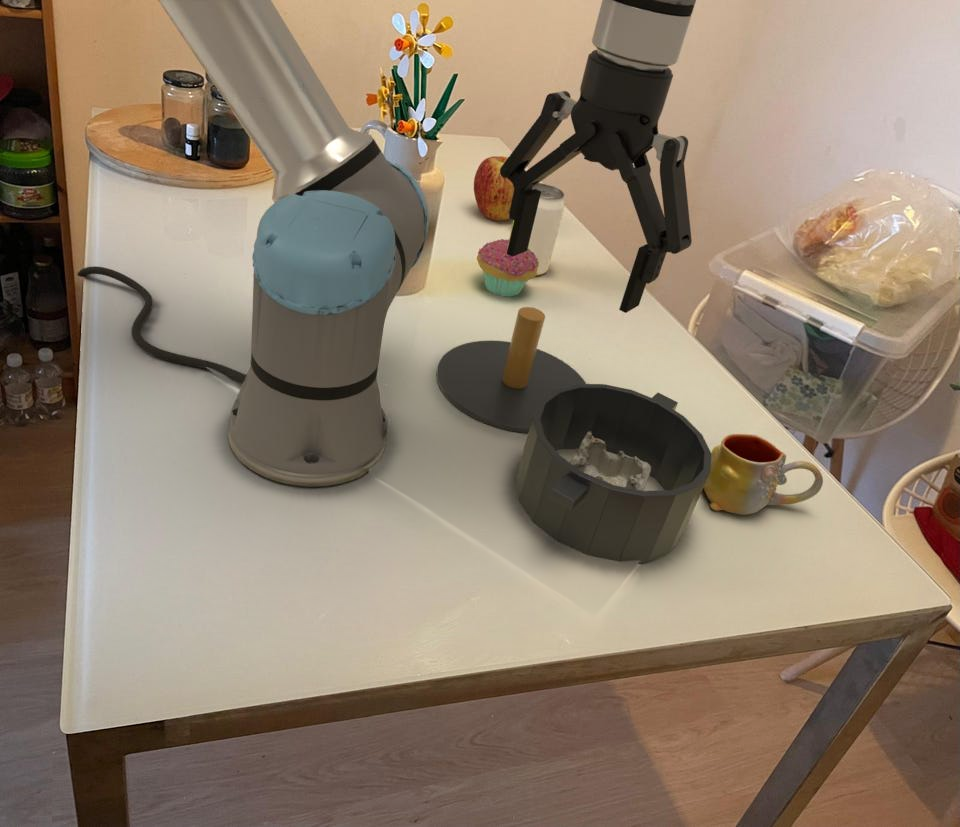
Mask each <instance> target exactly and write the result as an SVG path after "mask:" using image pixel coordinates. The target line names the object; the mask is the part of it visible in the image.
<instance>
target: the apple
mask: <svg viewBox="0 0 960 827" xmlns="http://www.w3.org/2000/svg"><path fill="white" fill-rule="evenodd" d="M508 157H509V156H504V155H502V156H499V155H498V156H496V155H495V156H490V157H487V158H485V159H483V160H482V162H480V164H479V165H478V167H477V170H476V172H475V174H474V179H473V194H474V198H475V202H476V205H477V208H478V210H479V212H480V213H481V214H482V215H483V216H484V217H485V218H488V219H491V220H493V221H498V222H500V221H505V220H509V219H510V218H509V211H510V206H511V202H512V197H513V193H514V187H513V184H512V182H511V181H510V180H509V179H508V178H503V177H502V176H501V174H500V168H501V167H502V165H503V164H504V163H505V161H506V160H507V159H508Z"/></svg>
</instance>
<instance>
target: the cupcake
mask: <svg viewBox="0 0 960 827" xmlns="http://www.w3.org/2000/svg"><path fill="white" fill-rule="evenodd" d="M513 223H514V220H512V223H511V224H512V225H511V230H510V234H509V238H508V239H503V238H501V239H498V240H497V239H496V240H494V241H490V242H486V243H485V244H484V245H483V246H482V247H481V248H479V249H478V252H477V256H476V261H477V263H478V266H479V267H480V269H481V270H482V273H483V278H484V287H485V288H486V289H487V290H488V291H489V292H490V293H493V294H495V295H497V296H502V297H516V296H518V295H520V293H521V292H522V290H523V288H524V287H525V285H526V284H527V283H528V281H529V280H531V279H534V278H535V277H536V276H535V275H536V273H537V267H538V266H539V265H538V264H539V262H538V259H536V255H534V253H533V252H532V251H530V249H527V251H525V252H523V253H521V254H518V255H516V256H513V257H512V256H510V255H508V254H507V250H508V245H509V241H510V237H511V232H512V228H513Z"/></svg>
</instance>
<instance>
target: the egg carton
mask: <svg viewBox="0 0 960 827" xmlns="http://www.w3.org/2000/svg"><path fill="white" fill-rule="evenodd" d="M606 449H607V448H606V443H605V442H604V441H602V440H600V439H598V438H595V437H593V436H592V432H591V431H589V432H588V433H587V434H586V436H585V438H584V439H583V441H582V443H581V445H580V447H579V449H577V450H576V452H575V454H574V456H573V458H572V459H571V461H570V463H571V464H572V465H574V466H575V467H576V468H578V469H579V470H580V471H582V472H584V473H586V474H588V475H591V476H593V477H595V478H598V479H600V480H602V481H605V482H607V483H609V484H611V485H615V486H620V487H625V488H630V489H635V490H640V491H644V490H645V487H646V485H647V482H648V481H649V477H650V475H649V474H650V471H651V466H650V465H649V464H648V463H647V462H644V461H641V460H640V459H638V458H637V457H636V456H635V457H634V458H633V457H629V456H627V455H625V454H624V452H623V451H619V452H618V454H617V455H616V454H613V453H610V452H607V451H606ZM588 465H592V466H594V467H596V470H597V472H598V473H599V474H601V475H603V476H605V477H608V478H603V477H602V476H600V475H598V473H597V472H595V471H594V469H592V471H590V470H589V469H587V470H586V467H587V466H588ZM590 472H591V474H590ZM620 476H622V477H625V478H626V479H627V482H626V485H624V483H623V482H624V480H623V479H619V477H620ZM614 478H615V479H614ZM617 482H618V483H617Z"/></svg>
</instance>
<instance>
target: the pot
mask: <svg viewBox="0 0 960 827" xmlns="http://www.w3.org/2000/svg"><path fill="white" fill-rule="evenodd" d="M678 405H679V402H678V401H676V400H674V399H672V398H670V397H669V396H667V395H664V394H662V393H660V392H656V393H655V394H654V395H653V396H652V397H651V396H649V395H645V394H643V393H641V392H638V391H636V390H633V389H629V388H624V387H620V386H616V385H615V386H614V385H611V384H604V383H586V384H575V385H571V386H567V387H563V388H559V389H555V390H553V391H552V392H550V393H549V394H548V395H546V396H545V397H544V398H542V399H541V400H540V401H539V402H538V405H537V407H536V410H535V413H534V415H533V418H532V422H531V425H530V429H529V432H528V433H527V437H526V440H525V443H524V447H523V451H522V454H521V457H520V458H521V459H520V462H519V465H518V469H517V473H516V475H515V480H514V482H515V489H516V493H517V497H518V498H517V499H518V502H519V504H520V506H521V507H522V509H523V510H524V511H525V513H526V514H527V516H528V517H529V518H530V521H531V522H532V523H533V524H534V525H536V526H537V527H538V528H539V529H541V530H542V531H544V532H545V533H546V534H547V535H548V536H549V537H550V538H553V540H555V541H556V542H557V543H559V544H562V545H564V546H566V547H569V548H570V549H573V550H575V551H577V552H579V553H582V554H584V555H586V556H590V557H595V558H599V559H605V560H609V561H615V562H632V561H639V562H638V565H640V564H641V565H642V564H646V563H649V562H653V561H656V560H658V559H660V558H662V557H664V556H666V554H668V553H670V552H671V551H672V550H673V549H674V548H675V547H676V545H677V543H678V542H679V541H680V539H681V537H682V536H683V535H684V533H685V530H686V528H687V526H688V524H689V521H690V519H691V517H692V515H693V512H694V510H695V508H696V506H697V504H698V501H699V499H700V496H701V494H702V492H703V491H704V486H705V483H706V481H707V479H708V477H709V474H710V472H711V455H712V454H711V452H712V451H711V450H710V448H709V445H708V443H707V441H706V439H705V437H704V435H703V434H702V433H701V432H700V431H699V430H698V429H697V428H696V427H695V426H694V424H692V422H691V421H690V420H688V419H687V418H686V417H685V416H684V415H683V414H681V413H680V412H678V411H677V410H676V409H677V407H678ZM589 431H591V432H592V436H593V437H595V438H598V439H600V440H602V441H604V442H605V443H606V448H607V449H606V451H607V452H610V453H613V454H616V455H617V454H618V452H619V451H623V452H624V454H625V455H627V456H629V457H633V458H634V457H635V456H636V457H637V458H638V459H640V460H641V461H644V462H647V463H648V464H649V465H650V466H651V471H650V474H649V476H651V477H652V478H654V479H655V480H656V482H657V483H658V484H659V485H660V487H662V489H663V490H643V491H640V490H635V489H630V488H625V487H626V486H624V487H620V486H615V485H611V484H609V483H607V482H605V481H602V480H600V479H598V478H595V476H591V475H592V474H589V475H588V474H586V472H585V471H584V472H582V471H580V470H579V469H578V468H576V467H575V466H574V465H572V464H571V462H569V461H568V460H567V459H565V457H562V456H561V455H560V454H559V453H558V452H557V451H560V450H578V449H579V447H580V445H581V443H582V441H583V439H584V438H585V436H586V434H587V433H588V432H589Z"/></svg>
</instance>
